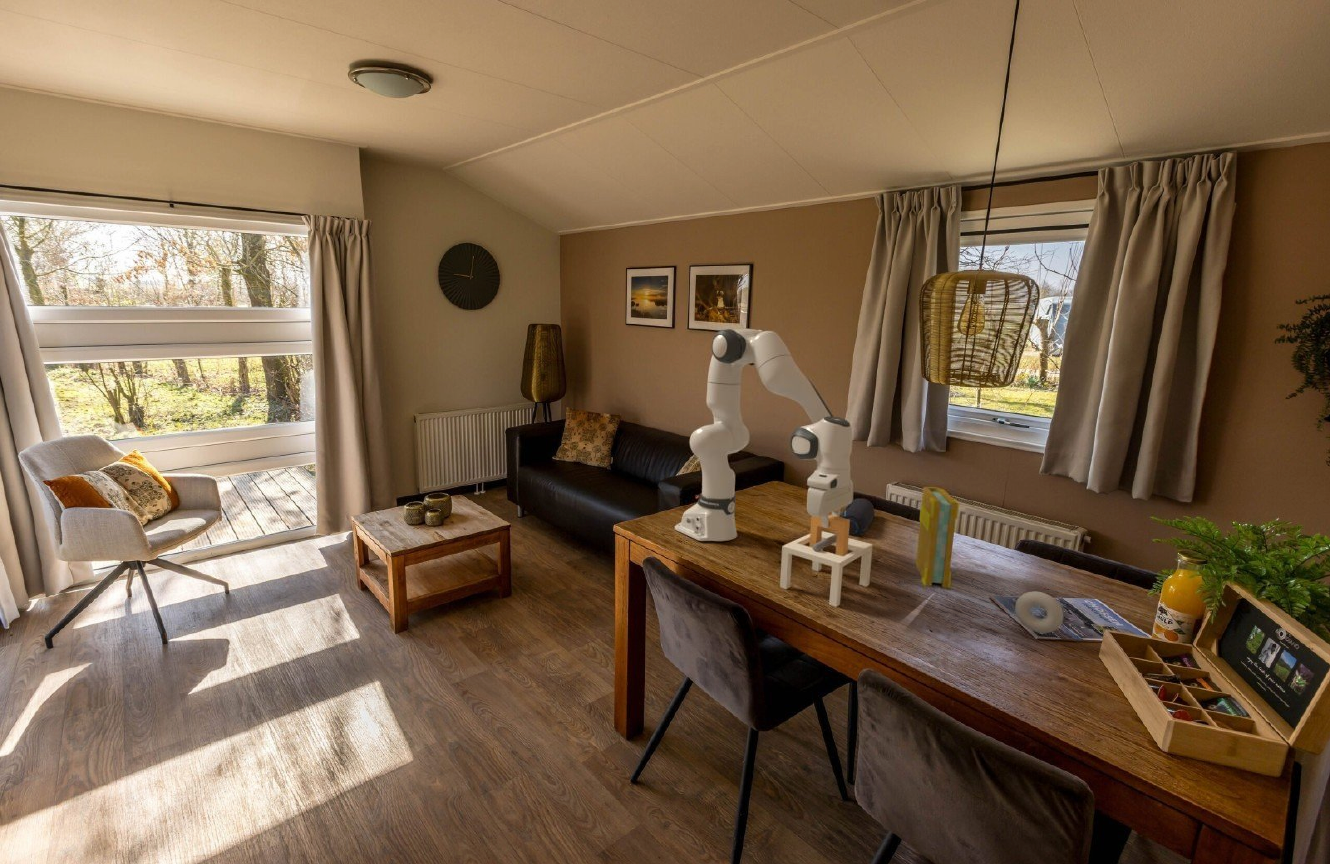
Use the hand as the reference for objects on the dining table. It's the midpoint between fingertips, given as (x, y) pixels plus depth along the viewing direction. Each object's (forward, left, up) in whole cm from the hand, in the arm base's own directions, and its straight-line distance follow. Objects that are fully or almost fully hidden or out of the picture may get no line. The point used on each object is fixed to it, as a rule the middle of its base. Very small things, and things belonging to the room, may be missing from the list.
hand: (829, 525), depth 164 cm
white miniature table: (0, 0, -18) cm, 18 cm away
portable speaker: (-16, +54, -18) cm, 59 cm away
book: (+18, +30, -18) cm, 40 cm away
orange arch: (0, 0, -11) cm, 11 cm away
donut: (+49, +13, -18) cm, 54 cm away
